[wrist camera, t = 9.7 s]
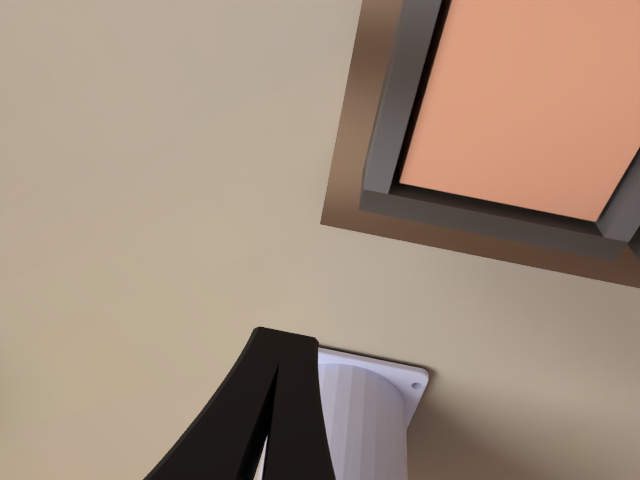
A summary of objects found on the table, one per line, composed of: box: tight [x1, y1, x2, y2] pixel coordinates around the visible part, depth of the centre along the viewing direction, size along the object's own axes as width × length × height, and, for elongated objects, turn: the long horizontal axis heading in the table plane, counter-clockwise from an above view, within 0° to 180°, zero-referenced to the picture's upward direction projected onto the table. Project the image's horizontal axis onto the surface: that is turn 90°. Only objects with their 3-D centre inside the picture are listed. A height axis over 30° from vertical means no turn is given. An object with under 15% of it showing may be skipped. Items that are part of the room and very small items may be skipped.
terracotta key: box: [399, 0, 640, 222], centre depth 15 cm, size 6×6×2 cm
